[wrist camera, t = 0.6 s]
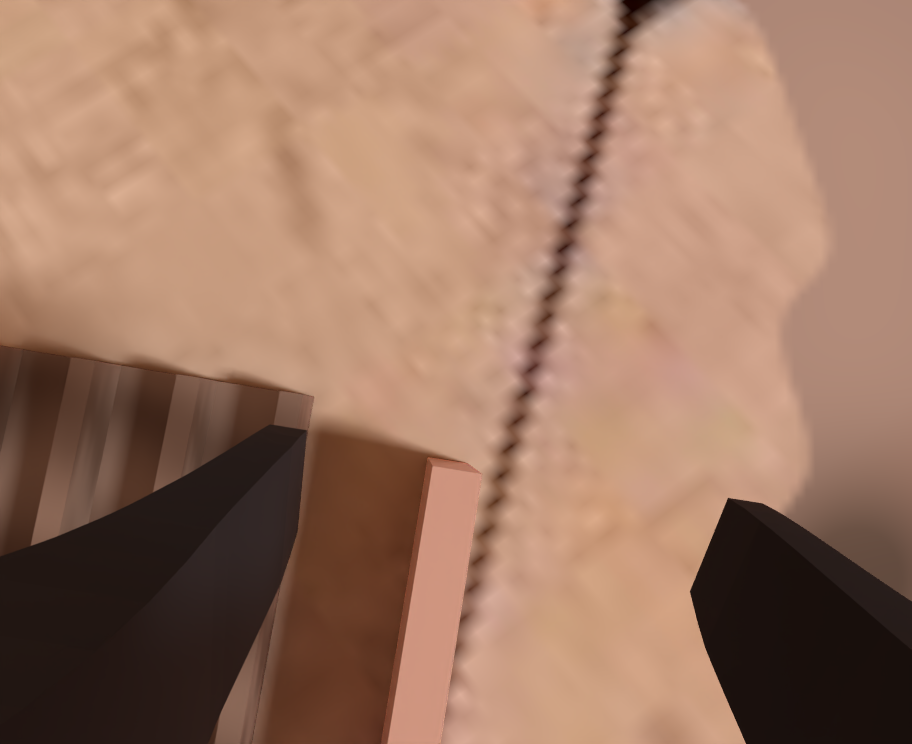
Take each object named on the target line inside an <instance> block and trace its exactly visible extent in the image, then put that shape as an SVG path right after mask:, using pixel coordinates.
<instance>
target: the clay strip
mask: <svg viewBox="0 0 912 744" xmlns="http://www.w3.org/2000/svg"><path fill="white" fill-rule="evenodd" d="M481 479H482V473H480V472H479V471H478V470H476V469H475V468H474V467H472V466H471V465H469V464H468V463H463V462H457V461H450V460H444V459H438V458H431V457H428V458H427V464H426V470H425V476H424V482H423V488H422V494H421V500H420V507H419V513H418V519H417V525H416V531H415V537H414V543H413V549H412V556H411V562H410V568H409V574H408V580H407V586H406V592H405V598H404V605H403V611H402V617H401V623H400V629H399V635H398V641H397V647H396V653H395V660H394V666H393V672H392V678H391V684H390V690H389V696H388V702H387V709H386V715H385V721H384V727H383V733H382V739H381V744H440V743H441V737H442V730H443V724H444V717H445V711H446V704H447V698H448V692H449V685H450V679H451V672H452V666H453V659H454V653H455V647H456V640H457V634H458V627H459V621H460V614H461V608H462V602H463V595H464V589H465V582H466V576H467V569H468V563H469V556H470V550H471V544H472V537H473V531H474V524H475V518H476V511H477V505H478V499H479V492H480V486H481Z"/></svg>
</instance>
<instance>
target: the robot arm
mask: <svg viewBox="0 0 912 744" xmlns="http://www.w3.org/2000/svg"><path fill="white" fill-rule="evenodd" d="M306 435H307V430H302V429H296V428H290V427H284V426H278V425H271V424H270V425H268V426H266V427H264V428H263V429H261V430H259V431H258V432H256V433H254V434H253V435H251V436H250V437H248V438H246V439H245V440H243V441H242V442H240V443H238V444H237V445H235V446H234V447H232V448H230V449H229V450H227V451H226V452H224V453H222V454H221V455H219V456H217V457H216V458H214V459H212V460H211V461H209V462H207V463H206V464H204V465H202V466H200V467H199V468H197V469H195V470H194V471H192V472H190V473H189V474H187V475H185V476H183V477H181V478H179V479H177V480H176V481H174V482H172V483H170V484H168V485H166V486H164V487H162V488H160V489H159V490H157V491H155V492H153V493H151V494H149V495H147V496H145V497H143V498H141V499H140V500H138V501H136V502H134V503H132V504H130V505H128V506H126V507H124V508H121V509H119V510H117V511H115V512H113V513H111V514H108V515H106V516H104V517H102V518H100V519H97V520H95V521H93V522H90V523H88V524H85V525H83V526H81V527H78V528H76V529H73V530H71V531H69V532H66V533H64V534H61V535H59V536H56V537H54V538H51V539H49V540H46V541H43V542H40V543H37V544H35V545H32V546H29V547H26V548H23V549H20V550H17V551H14V552H11V553H9V554H6V555H3V556H0V744H208V742H209V740H210V737H211V735H212V733H213V730H214V728H215V725H216V723H217V721H218V718H219V716H220V714H221V711H222V709H223V707H224V705H225V703H226V700H227V698H228V696H229V694H230V692H231V690H232V688H233V686H234V683H235V681H236V679H237V677H238V675H239V673H240V671H241V668H242V666H243V664H244V662H245V660H246V658H247V656H248V654H249V651H250V649H251V647H252V645H253V643H254V641H255V639H256V636H257V634H258V632H259V630H260V628H261V626H262V624H263V621H264V619H265V617H266V615H267V613H268V611H269V608H270V606H271V604H272V602H273V600H274V598H275V595H276V593H277V591H278V589H279V587H280V584H281V581H282V578H283V575H284V572H285V569H286V566H287V563H288V560H289V557H290V554H291V550H292V547H293V544H294V541H295V538H296V535H297V530H298V520H299V509H300V499H301V488H302V478H303V467H304V457H305V446H306ZM690 593H691V597H692V601H693V605H694V609H695V613H696V617H697V621H698V625H699V628H700V632H701V635H702V638H703V642H704V645H705V648H706V651H707V653H708V656H709V658H710V661H711V663H712V666H713V668H714V670H715V673H716V675H717V677H718V680H719V682H720V685H721V687H722V689H723V692H724V694H725V696H726V699H727V701H728V703H729V706H730V708H731V710H732V712H733V715H734V717H735V719H736V722H737V724H738V726H739V729H740V731H741V733H742V735H743V738H744V740H745V742H746V744H912V602H911V601H910V600H908V599H907V598H905V597H904V596H902V595H901V594H899V593H898V592H896V591H895V590H893V589H892V588H890V587H889V586H888V585H886V584H884V583H883V582H882V581H880V580H879V579H877V578H876V577H874V576H873V575H871V574H870V573H868V572H867V571H865V570H864V569H863V568H861V567H860V566H858V565H857V564H855V563H854V562H852V561H851V560H850V559H848V558H847V557H845V556H843V555H842V554H841V553H839V552H838V551H837V550H835V549H833V548H832V547H831V546H829V545H828V544H826V543H825V542H823V541H822V540H821V539H819V538H818V537H816V536H815V535H813V534H812V533H810V532H809V531H807V530H806V529H804V528H803V527H801V526H800V525H798V524H797V523H795V522H793V521H792V520H790V519H789V518H787V517H786V516H784V515H782V514H781V513H779V512H777V511H776V510H774V509H772V508H770V507H768V506H766V505H764V504H762V503H756V502H750V501H743V500H737V499H731V498H728V500H727V502H726V505H725V507H724V509H723V512H722V514H721V517H720V519H719V522H718V524H717V527H716V529H715V532H714V534H713V536H712V539H711V541H710V544H709V546H708V549H707V551H706V554H705V556H704V559H703V561H702V563H701V566H700V568H699V571H698V573H697V576H696V578H695V581H694V583H693V586H692V588H691V590H690Z"/></svg>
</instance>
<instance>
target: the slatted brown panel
mask: <svg viewBox="0 0 912 744" xmlns="http://www.w3.org/2000/svg"><path fill="white" fill-rule="evenodd" d="M313 400H314V397H312V396H308V395H303V394H297V393H291V392H285V391H275V390H269V389H263V388H257V387H251V386H244V385H238V384H232V383H226V382H220V381H214V380H209V379H204V378H198V377H192V376H186V375H180V374H177V375H176V374H170V373H164V372H158V371H152V370H146V369H139V368H133V367H127V366H121V365H115V364H110V363H105V362H99V361H93V360H87V359H81V358H75V357H65V356H59V355H53V354H47V353H41V352H34V351H28V350H22V349H17V348H11V347H5V346H0V556H3V555H6V554H9V553H11V552H14V551H17V550H20V549H23V548H26V547H29V546H32V545H35V544H37V543H40V542H43V541H46V540H49V539H51V538H54V537H56V536H59V535H61V534H64V533H66V532H69V531H71V530H73V529H76V528H78V527H81V526H83V525H85V524H88V523H90V522H93V521H95V520H97V519H100V518H102V517H104V516H106V515H108V514H111V513H113V512H115V511H117V510H119V509H121V508H124V507H126V506H128V505H130V504H132V503H134V502H136V501H138V500H140V499H141V498H143V497H145V496H147V495H149V494H151V493H153V492H155V491H157V490H159V489H160V488H162V487H164V486H166V485H168V484H170V483H172V482H174V481H176V480H177V479H179V478H181V477H183V476H185V475H187V474H189V473H190V472H192V471H194V470H195V469H197V468H199V467H200V466H202V465H204V464H206V463H207V462H209V461H211V460H212V459H214V458H216V457H217V456H219V455H221V454H222V453H224V452H226V451H227V450H229V449H230V448H232V447H234V446H235V445H237V444H238V443H240V442H242V441H243V440H245V439H246V438H248V437H250V436H251V435H253V434H254V433H256V432H258V431H259V430H261V429H263V428H264V427H266V426H268V425H270V424H271V425H278V426H284V427H290V428H296V429H302V430H307V434H308V428H309V423H310V417H311V411H312V406H313ZM306 439H307V435H306ZM279 589H280V587H279ZM279 589H278V591H277V593H276V595H275V598H274V600H273V602H272V604H271V606H270V608H269V611H268V613H267V615H266V617H265V619H264V621H263V624H262V626H261V628H260V630H259V632H258V634H257V636H256V639H255V641H254V643H253V645H252V647H251V649H250V651H249V654H248V656H247V658H246V660H245V662H244V664H243V666H242V668H241V671H240V673H239V675H238V677H237V679H236V681H235V683H234V686H233V688H232V690H231V692H230V694H229V696H228V698H227V700H226V703H225V705H224V707H223V709H222V711H221V714H220V716H219V718H218V721H217V723H216V725H215V728H214V730H213V733H212V735H211V737H210V740H209V742H208V744H252V738H253V733H254V727H255V722H256V716H257V711H258V705H259V699H260V694H261V688H262V683H263V677H264V672H265V666H266V661H267V655H268V650H269V644H270V639H271V633H272V627H273V622H274V616H275V611H276V605H277V600H278V594H279Z"/></svg>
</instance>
